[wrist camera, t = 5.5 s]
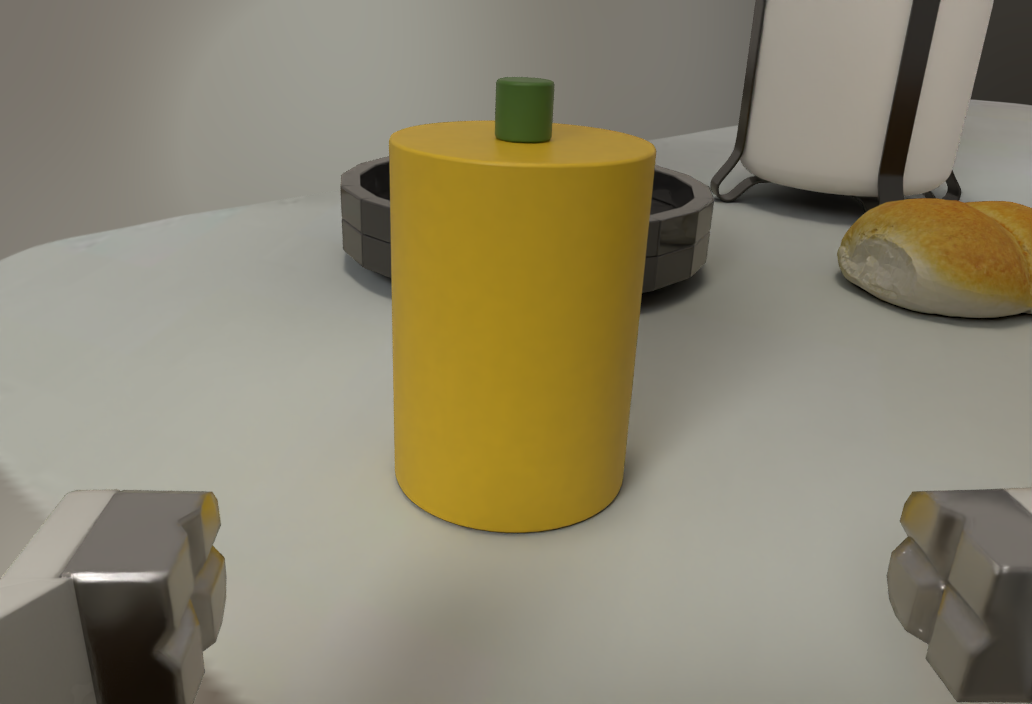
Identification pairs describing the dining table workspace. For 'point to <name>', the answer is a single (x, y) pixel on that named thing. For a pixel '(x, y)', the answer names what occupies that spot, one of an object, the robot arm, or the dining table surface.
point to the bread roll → (943, 256)
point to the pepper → (515, 311)
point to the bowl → (670, 241)
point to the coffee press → (857, 96)
